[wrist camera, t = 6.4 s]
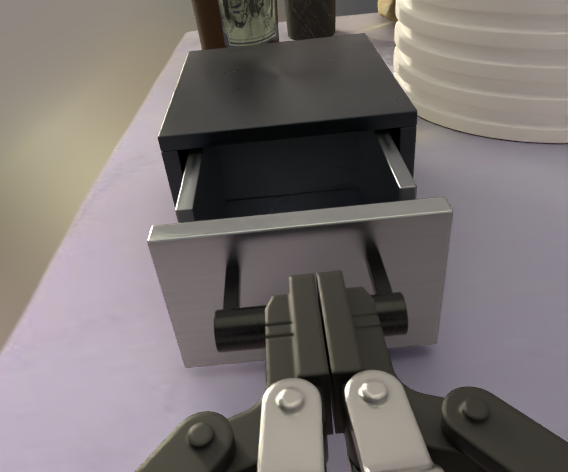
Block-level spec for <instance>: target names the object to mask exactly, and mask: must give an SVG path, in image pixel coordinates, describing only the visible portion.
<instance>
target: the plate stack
mask: <svg viewBox="0 0 568 472" xmlns="http://www.w3.org/2000/svg"><path fill="white" fill-rule="evenodd" d="M395 14H396V17H397V19H398V21H397V23H396V25H395V37H394V40H395V44H396V47H395V50H394V69H395V71H394V74H393V75H394V77H395V78H396V80H397V81H398V83H399V84H400V86H401V87H402V89H403V90H404V92H405V93H406V95H407V96H408V97H409V99H410V100H411V102H412V103H413V105H414V106H415V108H416V109H417V115H418V116H420V117H422V118H424V119H426V120H428V121H431V122H433V123H436V124H438V125H441V126H444V127H447V128H451V129H454V130H458V131H462V132H466V133H470V134H475V135H480V136H485V137H491V138H497V139H505V140H513V141H523V142H538V143H568V0H396V9H395Z"/></svg>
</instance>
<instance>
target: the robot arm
mask: <svg viewBox="0 0 568 472" xmlns="http://www.w3.org/2000/svg"><path fill="white" fill-rule="evenodd" d="M316 282H317V290H316V283H315V276H314V273H310V274H300V275H291V276H289V285H290V294H284V295H275V296H272V297H271V299H270V301H269V303H268V304H267V306H266V308H265V326H266V327H265V334H266V375H267V384H266V389H265V392H264V394H263V396H262V398H261V399H260V400H259V402H258V403H257V404H256V405H254V406H253V407H252V408H250V409H249V410H247V411H245V412H243V413H241V414H238V415H236V416H233V417H231V418H229V419H226V418H225V417H224V416H223V415H221V414H219V413H216V412H209V411H207V412H199V413H196V414H193V415H191V416H189V417H188V418H186V419H185V420H183V421H182V422H181V423H180V424H179V425H178V426H177V427H176V428H175V429H174V430H173V432H172V433H171V434H170V435H169V436H168V437H167V438H166V439H165V440H164V441H163V442H162V443H161V444H160V445H159V446H158V447H157V449H156V450H155V451H154V452H153V453H152V454H151V455H150V456H149V457H148V458H147V459H146V460H145V461H144V462H143V463H142V464H141V466H140V467H139V468H138V469H137V470H136V471H135V472H327V462H328V443H327V435H330V434H333V426H332V412H333V419H334V426H335V432H336V434H338V433H344V434H345V440H346V446H347V461H348V467H349V471H350V472H568V442H566V441H565V440H563V439H562V438H560V437H559V436H557V435H555V434H554V433H552V432H551V431H549V430H548V429H546V428H545V427H543V426H542V425H540V424H538V423H537V422H535V421H534V420H532V419H531V418H529V417H528V416H526V415H524V414H523V413H521V412H520V411H518V410H517V409H515V408H514V407H512V406H511V405H509V404H507V403H506V402H504V401H503V400H501V399H500V398H498V397H497V396H495V395H493V394H492V393H490V392H488V391H486V390H484V389H481V388H477V387H460V388H457V389H455V390H453V391H451V392H450V393H449V394H448V395H447V396H446V397H445V398H443V397H438V396H432V395H427V394H423V393H419V392H416V391H414V390H412V389H410V388H408V387H407V386H405V385H404V384H403V383H402V382H401V381H400V380H399V379H398V378H397V376H396V374H395V373H394V370H393V367H392V363H391V360H390V356H389V353H388V349H387V345H386V342H385V338H384V335H383V331H382V328H381V324H380V320H379V317H378V315H377V310H376V306H375V303H374V299H373V297H372V296H371V295H370V294H369V293H368V292H367V291H366V290H365V289H364V288H363V287H362V286H361V287H351V288H346V287H345V283H344V278H343V274H342V271H341V270H338V271H328V272H319V273H316ZM331 405H332V411H331Z"/></svg>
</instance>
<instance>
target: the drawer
mask: <svg viewBox="0 0 568 472" xmlns="http://www.w3.org/2000/svg"><path fill="white" fill-rule="evenodd" d="M416 191H417V186H416V184H415V182H414V180H413V178H412V176H411V174H410V172H409V170H408V169H407V167H406V165H405V163H404V161H403V159H402V157H401V155H400V153H399V151H398V149H397V147H396V145H395V143H394V141H393V139H392V137H391V135H390V134H389V132H388V130H387V129H380V130H370V131H360V132H350V133H341V134H331V135H321V136H311V137H301V138H291V139H282V140H272V141H262V142H252V143H242V144H232V145H223V146H213V147H203V148H193V149H190V150H189V154H188V158H187V163H186V167H185V171H184V176H183V180H182V184H181V189H180V193H179V197H178V202H177V206H176V210H175V211H176V215H177V219H178V223H175V224H165V225H155V226H152V227H151V230H150V234H149V237H148V241H147V243H148V246H149V249H150V253H151V256H152V259H153V263H154V266H155V269H156V273H157V276H158V279H159V283H160V286H161V289H162V293H163V296H164V299H165V303H166V306H167V309H168V313H169V316H170V319H171V322H172V326H173V329H174V332H175V336H176V339H177V342H178V346H179V349H180V352H181V356H182V359H183V362H184V366H185V368H191V367H201V366H212V365H222V364H232V363H243V362H253V361H264V360H266V334H265V327H266V326H265V308H266V306H267V304H268V303H269V301H270V299H271V297H272V296H275V295H284V294H290V285H289V276H291V275H300V274H310V273H314V276H315V283H316V290H317V282H316V273H319V272H328V271H338V270H341V271H342V274H343V278H344V283H345V287H346V288H351V287H361V286H362V287H363V288H364V289H365V290H366V291H367V292H368V293H369V294H370V295H371V296H372V297H373V299H374V303H375V306H376V310H377V315H378V317H379V320H380V324H381V328H382V331H383V335H384V338H385V342H386V345H387V349H388V348H398V347H409V346H419V345H430V344H436V343H437V339H438V331H439V323H440V314H441V306H442V298H443V290H444V282H445V274H446V266H447V257H448V249H449V241H450V233H451V225H452V217H453V210H452V208H451V206H450V205H449V203H448V201H447V200H446V198H445V197H435V198H425V199H416Z"/></svg>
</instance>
